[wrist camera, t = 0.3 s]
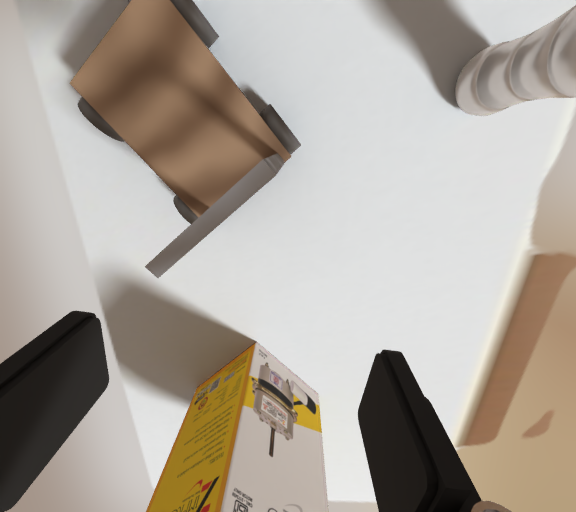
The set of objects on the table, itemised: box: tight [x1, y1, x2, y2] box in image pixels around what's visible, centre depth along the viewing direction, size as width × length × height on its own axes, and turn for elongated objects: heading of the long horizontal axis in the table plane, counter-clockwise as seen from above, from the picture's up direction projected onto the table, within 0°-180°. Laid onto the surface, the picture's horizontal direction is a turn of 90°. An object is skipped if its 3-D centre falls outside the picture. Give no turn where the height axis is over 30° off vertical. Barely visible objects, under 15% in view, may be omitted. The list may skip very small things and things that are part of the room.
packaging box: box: [146, 342, 328, 512], centre depth 40 cm, size 16×16×25 cm
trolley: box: [70, 0, 301, 278], centre depth 25 cm, size 20×16×21 cm
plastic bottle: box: [455, 5, 576, 116], centre depth 23 cm, size 6×7×20 cm
